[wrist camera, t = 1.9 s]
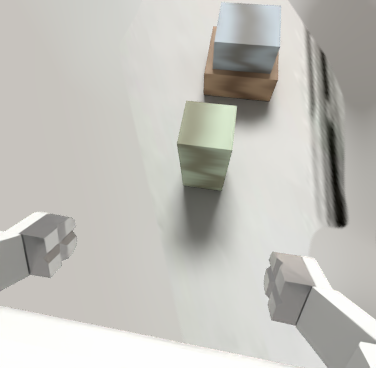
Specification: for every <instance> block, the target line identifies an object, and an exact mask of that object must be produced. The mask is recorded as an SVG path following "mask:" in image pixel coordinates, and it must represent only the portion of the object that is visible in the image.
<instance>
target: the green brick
mask: <svg viewBox="0 0 376 368" xmlns="http://www.w3.org/2000/svg"><path fill="white" fill-rule="evenodd" d="M236 112H237V106H232V105H223V104H213V103H203V102H194V101H186V104H185V109H184V114H183V118H182V123H181V127H180V132H179V137H178V141H177V147H178V153H179V160H180V167H181V173H182V180H183V186H191V187H198V188H205V189H212V190H219V191H222V187H223V184H224V180H225V176H226V172H227V168H228V165H229V161H230V157H231V153H232V148H233V139H234V130H235V121H236Z"/></svg>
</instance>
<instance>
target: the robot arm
mask: <svg viewBox="0 0 376 368" xmlns="http://www.w3.org/2000/svg"><path fill="white" fill-rule="evenodd" d="M75 227H76V226H75V220H74V219H73V218H71V217H65V216H60V215H55V214H49V213H44V212H35V213H33V214H31V215H30V216H28V217H27V218H25V219H24V220H22V221H21V222H19V223H17V224H16V225H14V226H13V227H11V228H10V229H8V230H7V231H5V232H3V231H0V291H1V290H3V289H5V288H7V287H9V286H11V285H12V284H14V283H16V282H18V281H20V280H22V279H24V278H25V277H28V276H29V275H36V276H42V277H48V278H51V277H52V276H53V275H54V274H55V273H56V271H57V270H58V269H59V268H60V267H61V266H62V261H63V260H66V259H68V258H69V257H70V256H71V255H72V254H73V252H74V250H75V248H76V244H77V236H76V235H75V233H74V232H73V230H74V228H75ZM269 262H270V265H271V266H270V267H269V268H267V269H266V272H265V276H264V290H265V294H266V295H267V296H268V297H269V301H268V308H269V312H270V317H271V320H273V321H277V322H282V323H286V324H291V325H295V326H296V328H297V329H298V330H299V332H300V333H301V334H302V335H303V337H304V338H305V339H306V341H307V342H308V343H309V344H310V346H311V347H312V348H313V349H314V351H315V352H316V353H317V355H318V356H319V357H320V358H321V360H322V361H323V362H324V363H325V365H326V366H327V367H328V368H376V320H375V319H374V318H372V317H371V316H370V315H369V314H367V313H366V312H365V311H363V310H362V309H361V308H359V307H358V306H357V305H355V304H354V303H353V302H351V301H350V300H349V299H347V298H346V297H345V296H344V295H342V294H341V293H340V292H338V291H335V290H333V289H332V287H331V286H330V284H329V282H328V281H327V279H326V277H325V275H324V273H323V272H322V270H321V268H320V267H319V265H318V263H317V261H316V260H315V259H314V258H313V257H306V256H297V255H290V254H284V253H278V252H272V254H271V255H270V259H269ZM0 368H303V367H298V366H294V365H289V364H284V363H279V362H274V361H269V360H264V359H259V358H254V357H250V356H245V355H240V354H235V353H230V352H225V351H220V350H216V349H211V348H206V347H201V346H196V345H191V344H187V343H182V342H177V341H172V340H167V339H162V338H157V337H153V336H147V335H143V334H137V333H133V332H128V331H123V330H118V329H114V328H109V327H103V326H99V325H93V324H89V323H84V322H79V321H74V320H69V319H65V318H60V317H55V316H50V315H45V314H40V313H35V312H31V311H26V310H21V309H16V308H11V307H6V306H1V305H0Z"/></svg>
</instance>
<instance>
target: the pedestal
mask: <svg viewBox="0 0 376 368" xmlns="http://www.w3.org/2000/svg"><path fill="white" fill-rule="evenodd" d="M280 26H281V6H275V5H259V4H242V3H225V2H221V8H220V13H219V19H218V24H217V27H214V26H213V31H212V36H211V41H210V47H209V52H208V57H207V62H206V68H205V73H204V95H212V96H222V97H232V98H242V99H252V100H262V101H270V98H271V96H272V93H273V91H274V88H275V86H276V83H277V81H278V54H279V48H280Z"/></svg>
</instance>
